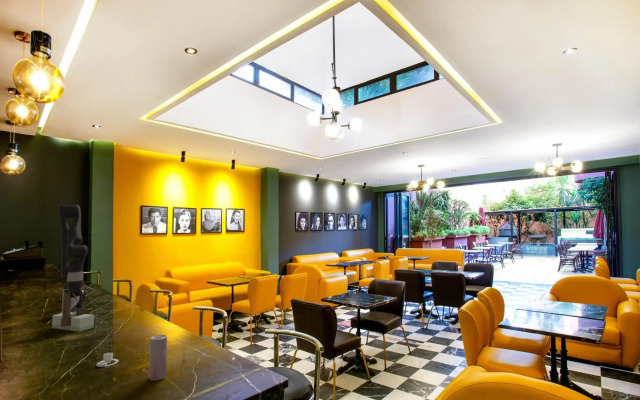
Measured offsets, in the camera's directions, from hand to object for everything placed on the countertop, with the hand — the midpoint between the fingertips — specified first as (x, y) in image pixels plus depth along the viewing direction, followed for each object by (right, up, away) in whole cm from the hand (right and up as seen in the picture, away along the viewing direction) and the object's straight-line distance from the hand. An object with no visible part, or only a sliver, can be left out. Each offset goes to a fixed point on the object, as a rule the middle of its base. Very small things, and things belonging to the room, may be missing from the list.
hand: (73, 308), depth 191 cm
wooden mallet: (0, -9, -1) cm, 9 cm away
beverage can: (+80, -6, -64) cm, 103 cm away
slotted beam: (0, -11, -1) cm, 11 cm away
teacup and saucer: (+49, -7, -52) cm, 72 cm away
